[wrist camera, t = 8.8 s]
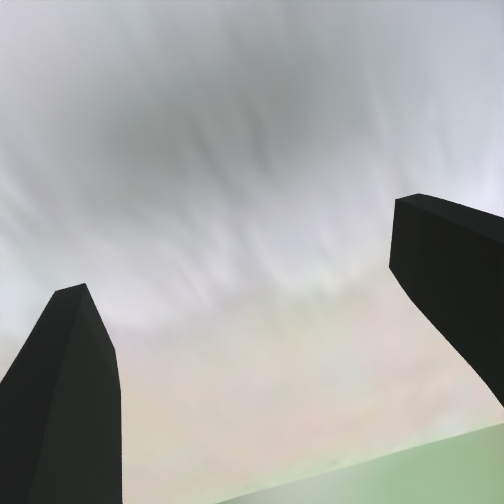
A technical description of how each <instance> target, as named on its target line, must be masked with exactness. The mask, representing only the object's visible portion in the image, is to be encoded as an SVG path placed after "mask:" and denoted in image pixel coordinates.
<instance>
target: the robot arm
mask: <svg viewBox="0 0 504 504" xmlns="http://www.w3.org/2000/svg"><path fill="white" fill-rule="evenodd" d="M389 268H390V270H391V271H392V273H393V274H394V276H395V278H396V279H397V281H398V282H399V284H400V285H401V287H402V288H403V290H404V291H405V292H406V294H407V295H408V297H409V298H410V299H411V301H412V302H413V303H414V304H415V305H416V306H417V308H418V309H419V310H420V311H421V312H422V313H423V314H424V315H425V316H426V318H427V319H428V320H429V321H430V322H431V323H432V324H433V325H434V326H435V328H436V329H437V330H438V331H439V332H440V333H441V334H442V335H443V336H444V337H445V338H446V340H447V341H448V342H449V343H450V344H451V345H452V346H453V347H454V348H455V349H456V350H457V352H458V353H459V354H460V355H461V356H462V357H463V358H464V359H465V360H466V361H467V362H468V364H469V365H470V366H471V367H472V368H473V369H474V370H475V371H476V373H477V374H478V375H479V376H480V377H481V379H482V380H483V381H484V382H485V383H486V384H487V386H488V387H489V388H490V390H491V391H492V392H493V394H494V395H495V396H496V398H497V399H498V400H499V402H500V403H501V405H502V406H503V407H504V218H503V217H499V216H496V215H493V214H490V213H487V212H483V211H480V210H477V209H474V208H470V207H467V206H464V205H461V204H457V203H454V202H451V201H447V200H444V199H440V198H437V197H433V196H429V195H424V194H419V193H418V194H414V195H410V196H407V197H403V198H399V199H395V210H394V220H393V231H392V241H391V252H390V262H389ZM0 504H123V503H122V434H121V389H120V381H119V374H118V367H117V360H116V353H115V349H114V346H113V344H112V342H111V340H110V337H109V335H108V333H107V331H106V328H105V326H104V324H103V322H102V319H101V317H100V315H99V313H98V310H97V308H96V306H95V304H94V301H93V299H92V297H91V295H90V292H89V290H88V288H87V286H86V283H83V284H80V285H76V286H72V287H69V288H65V289H61V290H58V291H55V292H54V294H53V296H52V297H51V299H50V300H49V302H48V304H47V305H46V307H45V309H44V311H43V312H42V314H41V316H40V318H39V319H38V321H37V323H36V325H35V326H34V328H33V330H32V332H31V333H30V335H29V337H28V338H27V340H26V342H25V344H24V345H23V347H22V349H21V350H20V352H19V353H18V355H17V357H16V358H15V360H14V362H13V363H12V365H11V367H10V368H9V370H8V371H7V373H6V375H5V376H4V378H3V379H2V381H1V382H0Z"/></svg>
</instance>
